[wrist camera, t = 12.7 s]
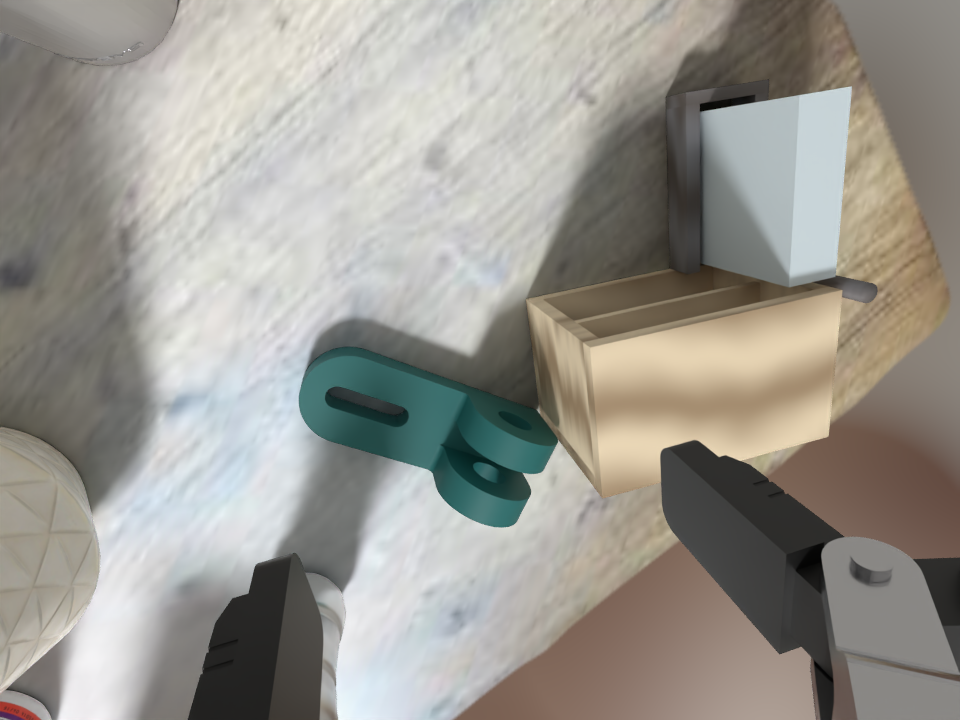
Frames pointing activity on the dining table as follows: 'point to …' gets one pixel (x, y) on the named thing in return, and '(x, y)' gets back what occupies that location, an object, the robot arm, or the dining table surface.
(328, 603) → the plastic bottle
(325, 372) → the bracket
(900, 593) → the robot arm
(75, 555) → the vase
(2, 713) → the pill bottle
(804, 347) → the wooden caddy
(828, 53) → the dining table surface
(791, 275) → the door
